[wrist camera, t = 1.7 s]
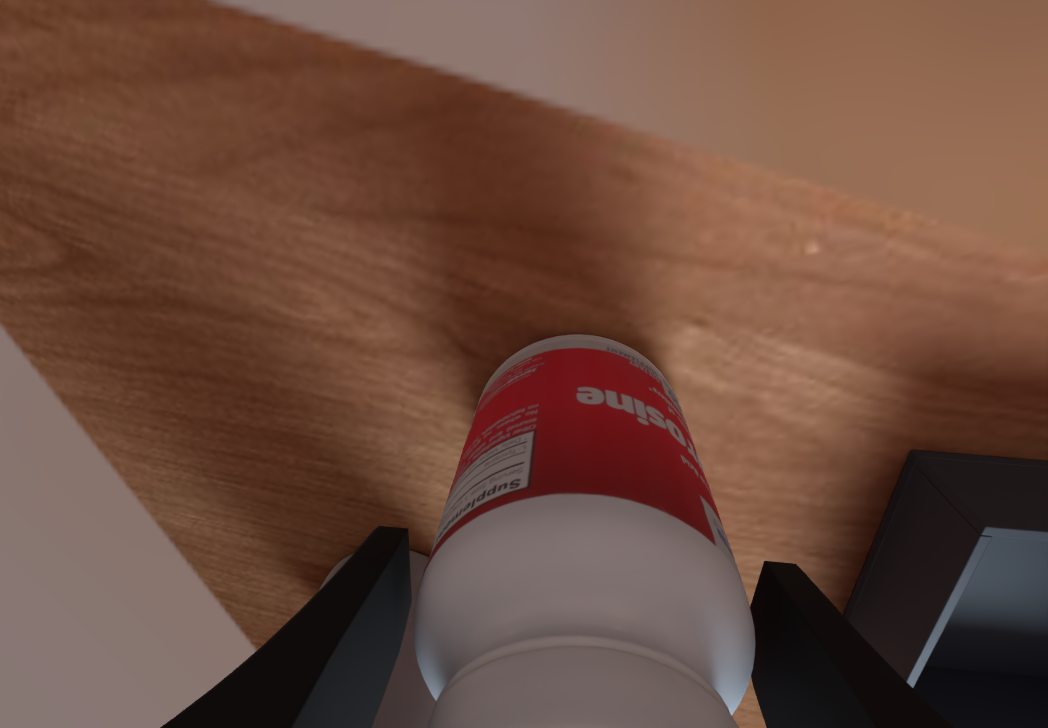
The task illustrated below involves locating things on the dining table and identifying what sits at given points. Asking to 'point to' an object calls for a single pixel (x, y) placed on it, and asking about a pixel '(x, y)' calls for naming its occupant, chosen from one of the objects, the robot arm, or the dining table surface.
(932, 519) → the box
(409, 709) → the black capped bottle
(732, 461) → the dining table surface
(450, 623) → the pill bottle
